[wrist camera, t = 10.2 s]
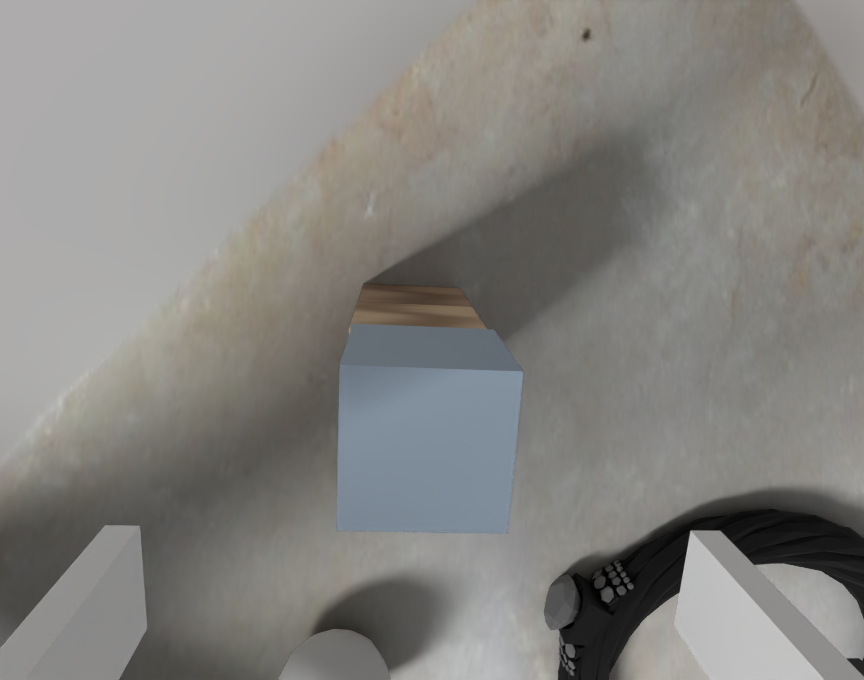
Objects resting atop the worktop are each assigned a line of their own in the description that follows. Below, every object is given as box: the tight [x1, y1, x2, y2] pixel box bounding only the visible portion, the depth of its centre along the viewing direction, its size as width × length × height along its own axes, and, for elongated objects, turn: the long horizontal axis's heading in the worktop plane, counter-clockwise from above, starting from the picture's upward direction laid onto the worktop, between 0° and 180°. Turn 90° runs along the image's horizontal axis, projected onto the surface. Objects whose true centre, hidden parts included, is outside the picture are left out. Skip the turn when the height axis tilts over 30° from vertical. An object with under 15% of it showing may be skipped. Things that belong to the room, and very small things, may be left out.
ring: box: [544, 509, 864, 680], centre depth 44 cm, size 28×4×30 cm
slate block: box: [336, 324, 524, 534], centre depth 23 cm, size 6×6×6 cm
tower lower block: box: [358, 284, 472, 307], centre depth 34 cm, size 6×6×6 cm
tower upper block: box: [349, 302, 486, 333], centre depth 29 cm, size 6×6×6 cm
